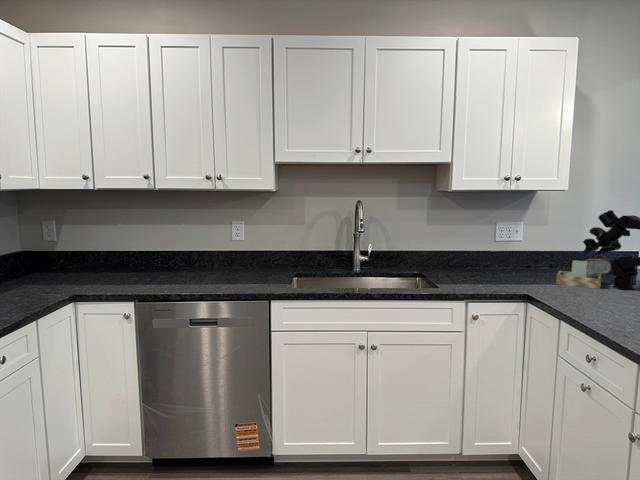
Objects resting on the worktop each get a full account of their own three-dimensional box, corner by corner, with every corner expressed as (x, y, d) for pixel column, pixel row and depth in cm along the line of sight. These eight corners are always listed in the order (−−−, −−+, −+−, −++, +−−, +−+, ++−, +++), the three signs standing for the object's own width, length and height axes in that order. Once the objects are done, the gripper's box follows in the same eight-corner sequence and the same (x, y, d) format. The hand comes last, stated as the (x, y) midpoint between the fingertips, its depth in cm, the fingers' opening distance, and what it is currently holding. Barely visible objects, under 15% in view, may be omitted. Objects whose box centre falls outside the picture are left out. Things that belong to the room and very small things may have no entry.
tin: (608, 273, 229) (610, 258, 228) (612, 274, 226) (613, 259, 225) (580, 273, 230) (581, 258, 229) (583, 274, 227) (584, 259, 226)
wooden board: (600, 283, 204) (601, 274, 204) (600, 288, 193) (600, 279, 192) (558, 279, 214) (559, 270, 214) (556, 284, 203) (556, 275, 202)
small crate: (585, 281, 204) (587, 261, 203) (585, 283, 199) (586, 263, 198) (571, 279, 208) (573, 260, 206) (570, 282, 203) (572, 262, 202)
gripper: (617, 221, 205) (595, 241, 217) (588, 222, 200) (567, 242, 211) (631, 239, 198) (608, 258, 210) (602, 240, 193) (579, 260, 205)
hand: (590, 254), depth 209 cm, fingers open, 9 cm apart
